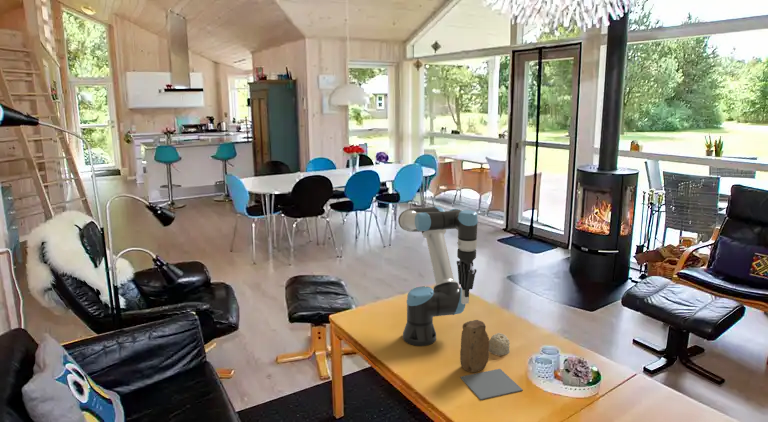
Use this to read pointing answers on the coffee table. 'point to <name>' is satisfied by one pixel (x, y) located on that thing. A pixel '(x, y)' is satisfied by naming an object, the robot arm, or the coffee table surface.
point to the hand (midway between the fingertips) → (464, 303)
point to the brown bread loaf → (474, 346)
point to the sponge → (499, 344)
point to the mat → (490, 384)
